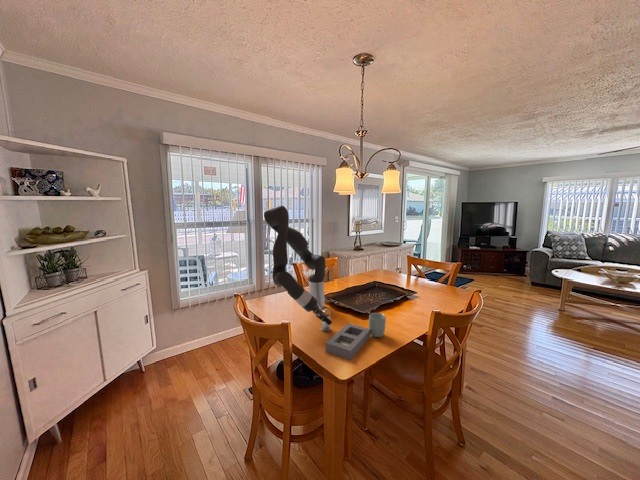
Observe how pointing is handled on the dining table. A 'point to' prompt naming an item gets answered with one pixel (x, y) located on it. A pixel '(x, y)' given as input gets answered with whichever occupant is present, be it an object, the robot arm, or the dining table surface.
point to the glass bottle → (324, 325)
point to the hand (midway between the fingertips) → (329, 321)
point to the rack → (348, 341)
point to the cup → (377, 324)
